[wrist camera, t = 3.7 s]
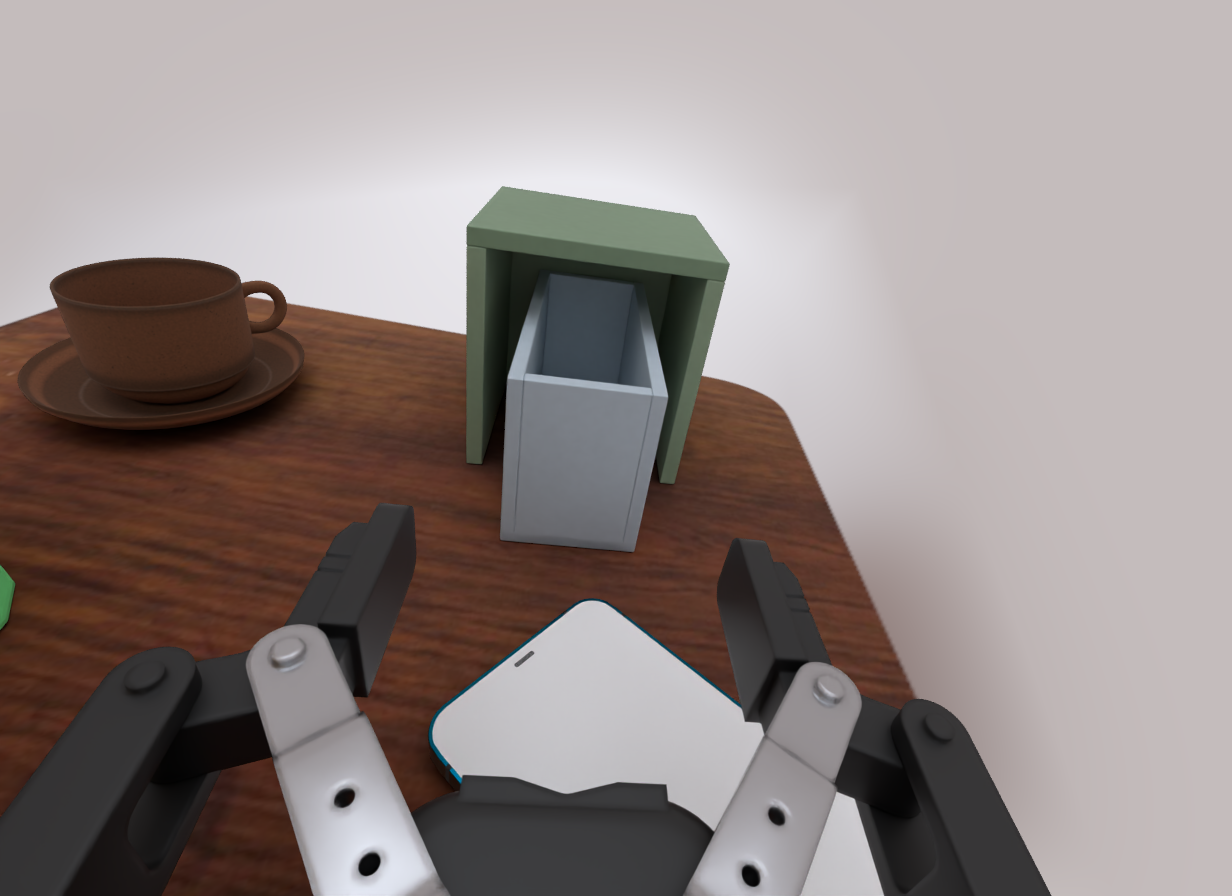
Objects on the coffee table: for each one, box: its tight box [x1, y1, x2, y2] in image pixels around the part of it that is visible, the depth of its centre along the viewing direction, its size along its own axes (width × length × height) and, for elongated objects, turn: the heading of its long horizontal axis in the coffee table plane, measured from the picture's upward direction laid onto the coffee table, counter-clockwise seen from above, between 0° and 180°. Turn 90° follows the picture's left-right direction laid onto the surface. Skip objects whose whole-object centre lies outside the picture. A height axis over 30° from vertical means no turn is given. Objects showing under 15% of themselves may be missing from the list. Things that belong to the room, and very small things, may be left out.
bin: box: [500, 269, 668, 552], centre depth 29 cm, size 14×6×8 cm, turn 2°
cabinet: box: [466, 187, 730, 484], centre depth 31 cm, size 10×11×12 cm
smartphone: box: [428, 598, 884, 896], centre depth 15 cm, size 8×1×16 cm
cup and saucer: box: [18, 258, 304, 430], centre depth 29 cm, size 12×12×6 cm
